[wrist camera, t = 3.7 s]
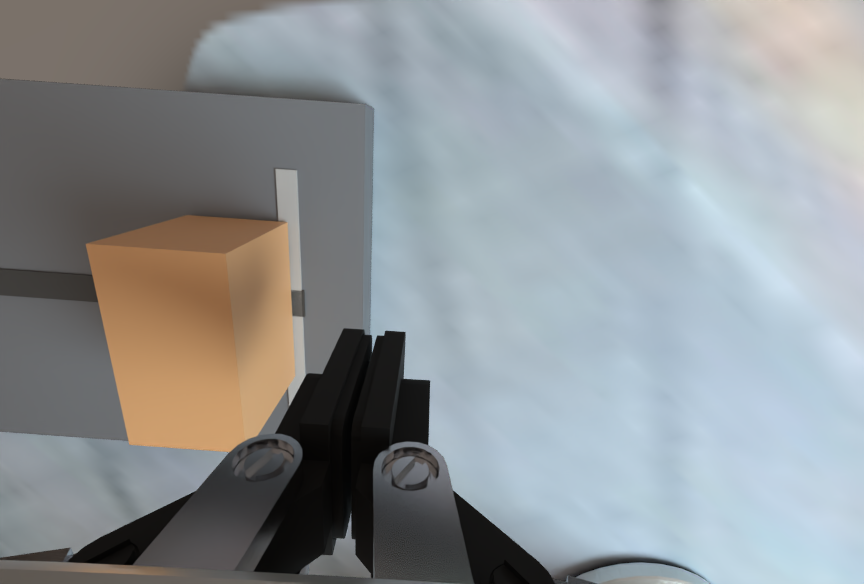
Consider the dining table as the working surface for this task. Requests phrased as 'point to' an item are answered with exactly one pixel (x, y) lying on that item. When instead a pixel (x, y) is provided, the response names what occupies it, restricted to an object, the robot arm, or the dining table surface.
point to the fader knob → (197, 327)
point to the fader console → (157, 202)
